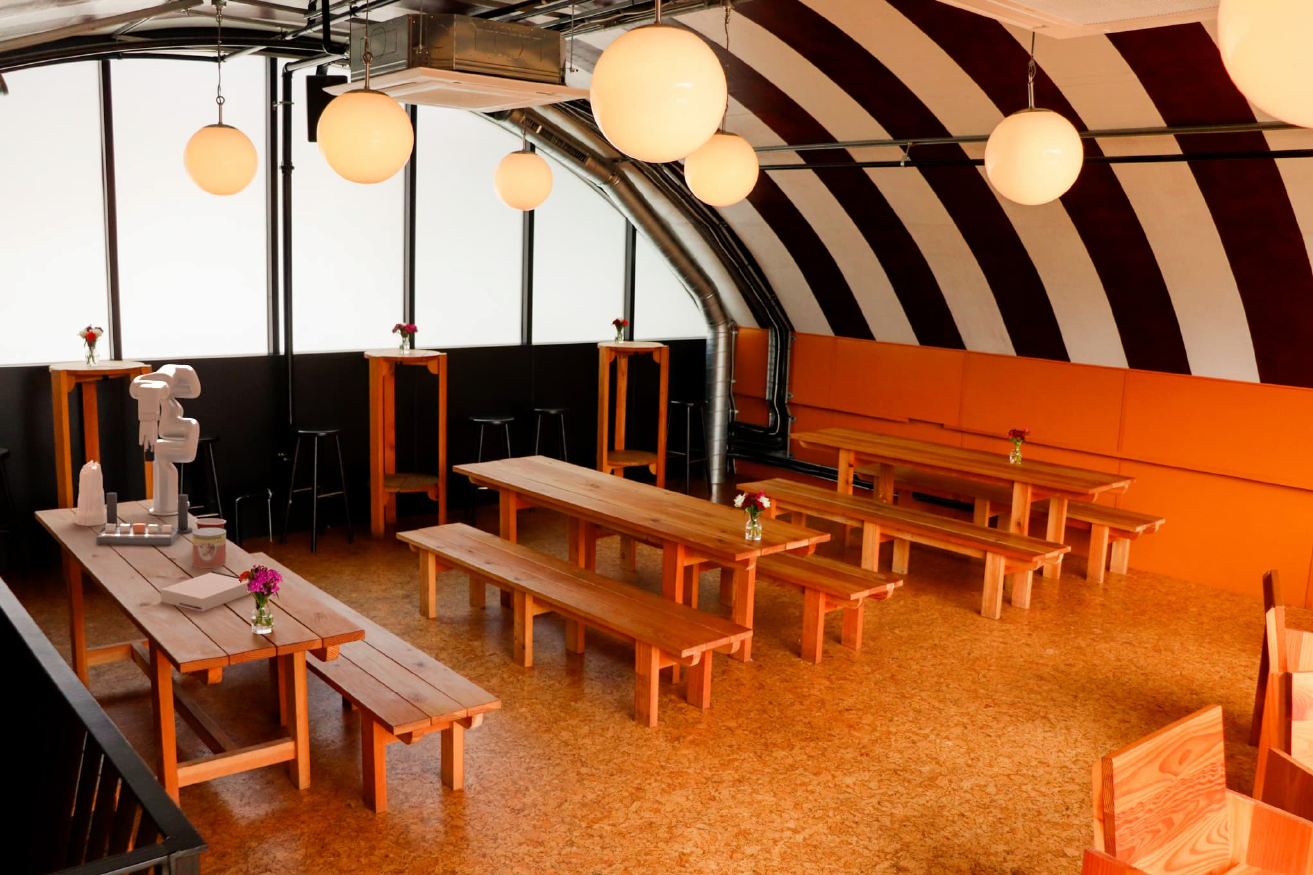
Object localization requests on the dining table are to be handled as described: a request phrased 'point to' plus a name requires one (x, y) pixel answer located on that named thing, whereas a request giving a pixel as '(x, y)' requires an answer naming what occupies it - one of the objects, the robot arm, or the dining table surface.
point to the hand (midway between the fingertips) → (149, 460)
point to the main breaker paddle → (139, 527)
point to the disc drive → (205, 591)
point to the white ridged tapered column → (91, 496)
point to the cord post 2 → (183, 514)
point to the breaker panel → (138, 535)
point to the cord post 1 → (111, 509)
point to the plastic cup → (210, 523)
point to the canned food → (209, 547)
